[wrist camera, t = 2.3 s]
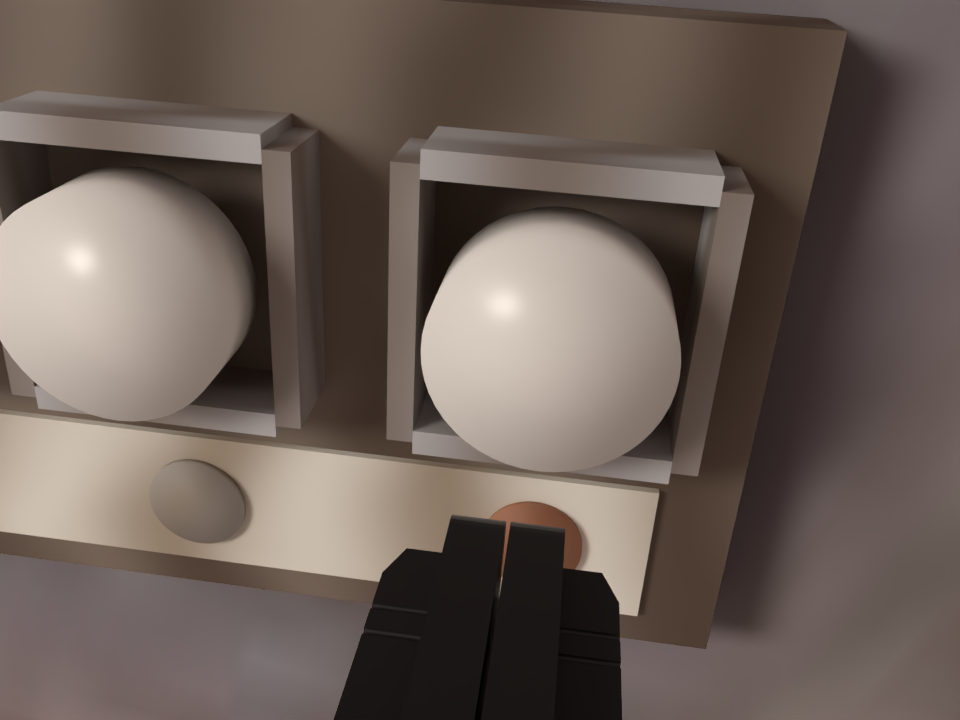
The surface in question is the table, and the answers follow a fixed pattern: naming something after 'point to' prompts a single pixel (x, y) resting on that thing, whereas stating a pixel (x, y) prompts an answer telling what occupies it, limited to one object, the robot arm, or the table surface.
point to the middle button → (124, 292)
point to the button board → (411, 271)
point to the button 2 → (552, 341)
